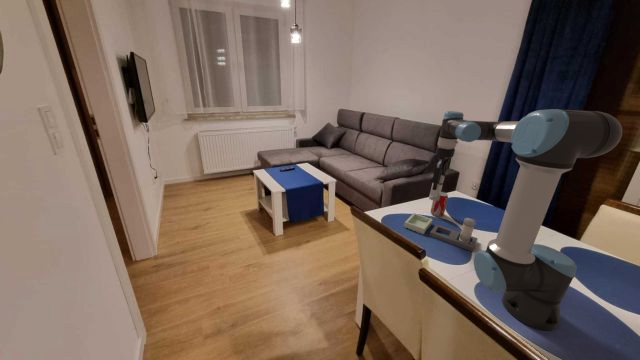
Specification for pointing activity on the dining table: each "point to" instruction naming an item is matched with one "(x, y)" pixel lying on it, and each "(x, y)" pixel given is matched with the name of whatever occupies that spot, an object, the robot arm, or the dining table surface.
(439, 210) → the soda can
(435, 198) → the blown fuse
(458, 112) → the robot arm
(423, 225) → the tray
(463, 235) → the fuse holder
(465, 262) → the dining table surface
